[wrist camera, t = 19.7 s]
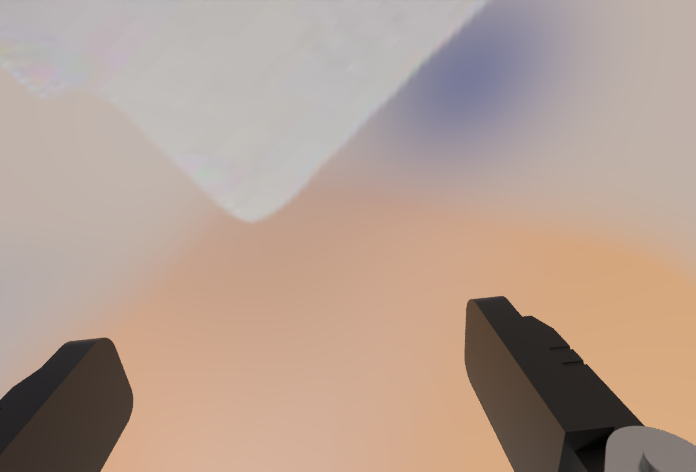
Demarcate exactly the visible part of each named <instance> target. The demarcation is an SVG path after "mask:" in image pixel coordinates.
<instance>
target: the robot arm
mask: <svg viewBox="0 0 696 472" xmlns="http://www.w3.org/2000/svg"><path fill="white" fill-rule="evenodd" d="M465 365H466V370H467V374H468V377H469V380H470V383H471V385H472V387H473V389H474V391H475V393H476V395H477V397H478V399H479V401H480V403H481V405H482V407H483V409H484V411H485V413H486V415H487V417H488V419H489V421H490V423H491V425H492V427H493V429H494V431H495V433H496V435H497V437H498V439H499V441H500V443H501V445H502V447H503V450H504V452H505V454H506V456H507V457H508V460H509V462H510V463H511V466H512V468H513V470H514V472H696V446H695V445H693V444H692V443H690V442H688V441H686V440H684V439H682V438H680V437H678V436H676V435H674V434H671V433H668V432H666V431H663V430H659V429H656V428H651V427H645V426H644V425H643V424H642V423H641V422H640V421H639V420H638V419H637V417H636V416H635V415H634V414H633V413H632V412H631V411H630V410H629V409H628V408H627V407H626V406H625V405H624V404H623V403H622V401H621V400H620V399H619V398H618V397H617V396H616V395H615V394H614V393H613V392H612V391H611V390H610V389H609V387H608V386H607V385H606V384H605V383H604V382H603V381H602V380H601V379H600V378H599V377H598V376H597V375H596V374H595V372H593V370H592V369H591V368H590V367H589V366H588V365H587V364H586V365H585V364H584V363H583V360H582V359H581V357H579V355H578V354H577V353H576V352H575V351H574V350H573V349H572V350H571V349H570V346H569V345H568V344H567V343H566V341H565V340H564V339H563V338H562V337H561V336H560V335H559V334H558V333H557V332H556V331H555V330H554V329H553V328H551V327H550V326H548V325H546V324H545V323H543V322H541V321H539V320H538V319H536V318H534V317H533V316H524V317H522V316H521V315H520V314H519V312H518V311H516V309H515V308H514V307H513V305H512V304H511V303H510V302H509V301H508V300H507V299H506V298H505V297H504V296H498V297H490V298H479V299H471V300H469V301H468V303H467V308H466V330H465ZM132 408H133V394H132V390H131V387H130V384H129V382H128V379H127V376H126V374H125V371H124V369H123V366H122V364H121V361H120V358H119V356H118V353H117V350H116V348H115V345H114V344H113V342H112V341H111V340H110V339H108V338H97V339H87V340H78V341H70V342H67V343H65V344H64V345H63V346H62V347H61V348H60V349H59V350H58V351H57V352H56V353H55V354H54V355H53V356H52V357H51V358H50V359H49V360H48V361H47V362H46V363H45V364H44V365H43V366H42V367H41V368H40V369H39V370H37V371H36V372H34V373H33V374H32V375H30V376H29V377H27V378H26V379H24V380H23V381H21V382H20V383H18V384H17V385H15V386H14V387H13V388H12V389H11V390H10V391H9V392H8V393H7V394H6V395H5V396H4V397H3V398H2V399H1V400H0V472H100V471H101V469H102V468H103V466H104V464H105V462H106V461H107V459H108V457H109V455H110V453H111V452H112V450H113V448H114V446H115V444H116V443H117V441H118V439H119V437H120V435H121V434H122V432H123V430H124V428H125V426H126V425H127V423H128V421H129V419H130V416H131V412H132Z"/></svg>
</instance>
